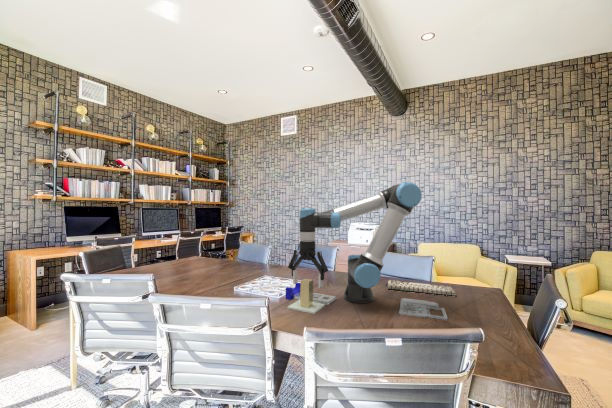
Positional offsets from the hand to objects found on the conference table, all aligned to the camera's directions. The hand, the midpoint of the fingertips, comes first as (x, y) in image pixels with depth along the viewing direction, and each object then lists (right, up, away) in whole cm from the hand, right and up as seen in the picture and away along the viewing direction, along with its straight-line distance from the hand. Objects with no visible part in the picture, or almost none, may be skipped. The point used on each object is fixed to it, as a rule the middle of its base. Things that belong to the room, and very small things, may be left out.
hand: (307, 285), depth 135 cm
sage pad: (-1, -10, 0) cm, 10 cm away
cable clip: (-8, -11, +17) cm, 22 cm away
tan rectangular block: (-1, -10, 0) cm, 10 cm away
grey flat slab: (+54, -12, 0) cm, 56 cm away
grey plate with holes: (+4, -11, +12) cm, 17 cm away
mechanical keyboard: (+66, -13, +32) cm, 75 cm away
